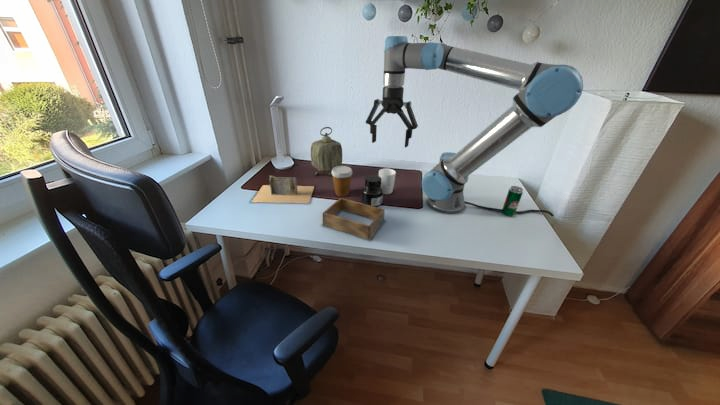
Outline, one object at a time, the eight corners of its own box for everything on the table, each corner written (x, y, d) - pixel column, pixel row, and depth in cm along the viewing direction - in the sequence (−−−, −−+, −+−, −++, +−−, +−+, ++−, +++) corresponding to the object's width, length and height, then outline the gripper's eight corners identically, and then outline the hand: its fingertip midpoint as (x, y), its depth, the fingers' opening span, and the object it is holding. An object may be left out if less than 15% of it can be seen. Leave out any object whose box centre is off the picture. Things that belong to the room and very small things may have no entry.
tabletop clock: (334, 168, 151) (333, 123, 139) (344, 173, 145) (343, 127, 133) (312, 174, 143) (308, 127, 131) (321, 180, 137) (318, 131, 125)
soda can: (507, 217, 112) (516, 191, 106) (498, 211, 116) (507, 186, 110) (517, 216, 113) (526, 190, 107) (508, 209, 117) (517, 184, 111)
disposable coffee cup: (343, 200, 121) (343, 175, 115) (327, 194, 125) (326, 170, 119) (356, 192, 127) (356, 169, 121) (341, 186, 132) (340, 163, 126)
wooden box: (383, 221, 107) (384, 209, 104) (369, 240, 97) (370, 227, 94) (340, 208, 115) (340, 197, 112) (323, 225, 104) (322, 213, 101)
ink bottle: (376, 210, 114) (377, 185, 108) (357, 205, 117) (358, 180, 111) (385, 201, 121) (387, 176, 115) (368, 196, 125) (369, 172, 119)
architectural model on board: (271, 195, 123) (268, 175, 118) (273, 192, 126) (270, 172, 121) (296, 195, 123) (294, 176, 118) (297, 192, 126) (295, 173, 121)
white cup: (396, 193, 128) (398, 174, 123) (381, 196, 125) (383, 176, 120) (389, 186, 134) (390, 167, 129) (374, 188, 131) (375, 169, 126)
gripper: (430, 87, 96) (423, 145, 106) (365, 83, 105) (364, 137, 115) (425, 89, 90) (418, 151, 100) (357, 85, 99) (357, 142, 109)
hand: (389, 144), depth 108 cm, fingers open, 13 cm apart
